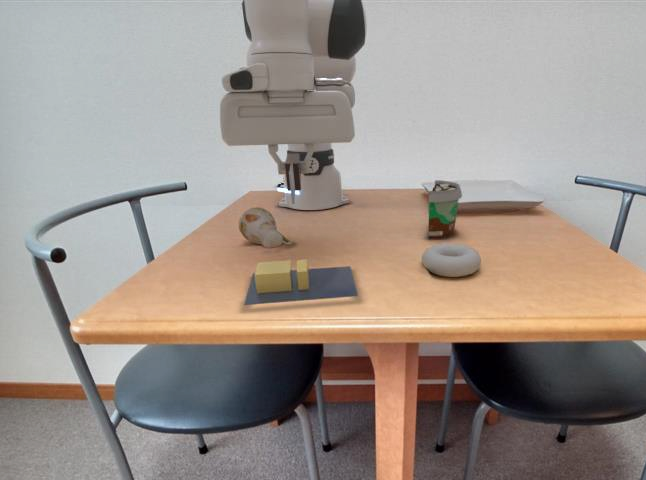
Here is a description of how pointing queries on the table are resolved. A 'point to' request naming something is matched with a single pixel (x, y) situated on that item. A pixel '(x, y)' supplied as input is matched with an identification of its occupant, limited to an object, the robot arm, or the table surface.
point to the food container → (443, 209)
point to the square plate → (492, 196)
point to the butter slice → (302, 275)
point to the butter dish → (282, 284)
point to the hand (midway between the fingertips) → (293, 173)
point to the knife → (293, 174)
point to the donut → (451, 260)
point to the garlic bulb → (261, 228)
